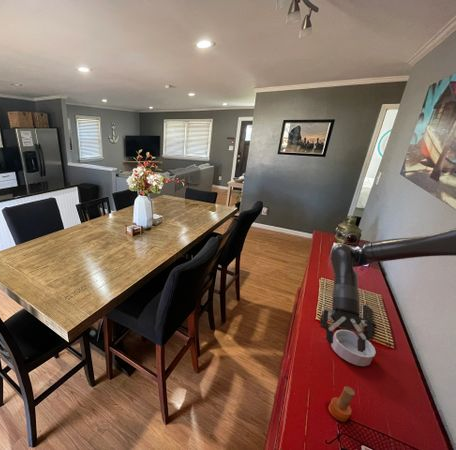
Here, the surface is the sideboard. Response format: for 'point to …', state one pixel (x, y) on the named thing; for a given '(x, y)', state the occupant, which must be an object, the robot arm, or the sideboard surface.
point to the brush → (342, 405)
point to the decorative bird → (343, 328)
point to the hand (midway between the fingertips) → (345, 347)
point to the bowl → (352, 348)
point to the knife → (364, 309)
